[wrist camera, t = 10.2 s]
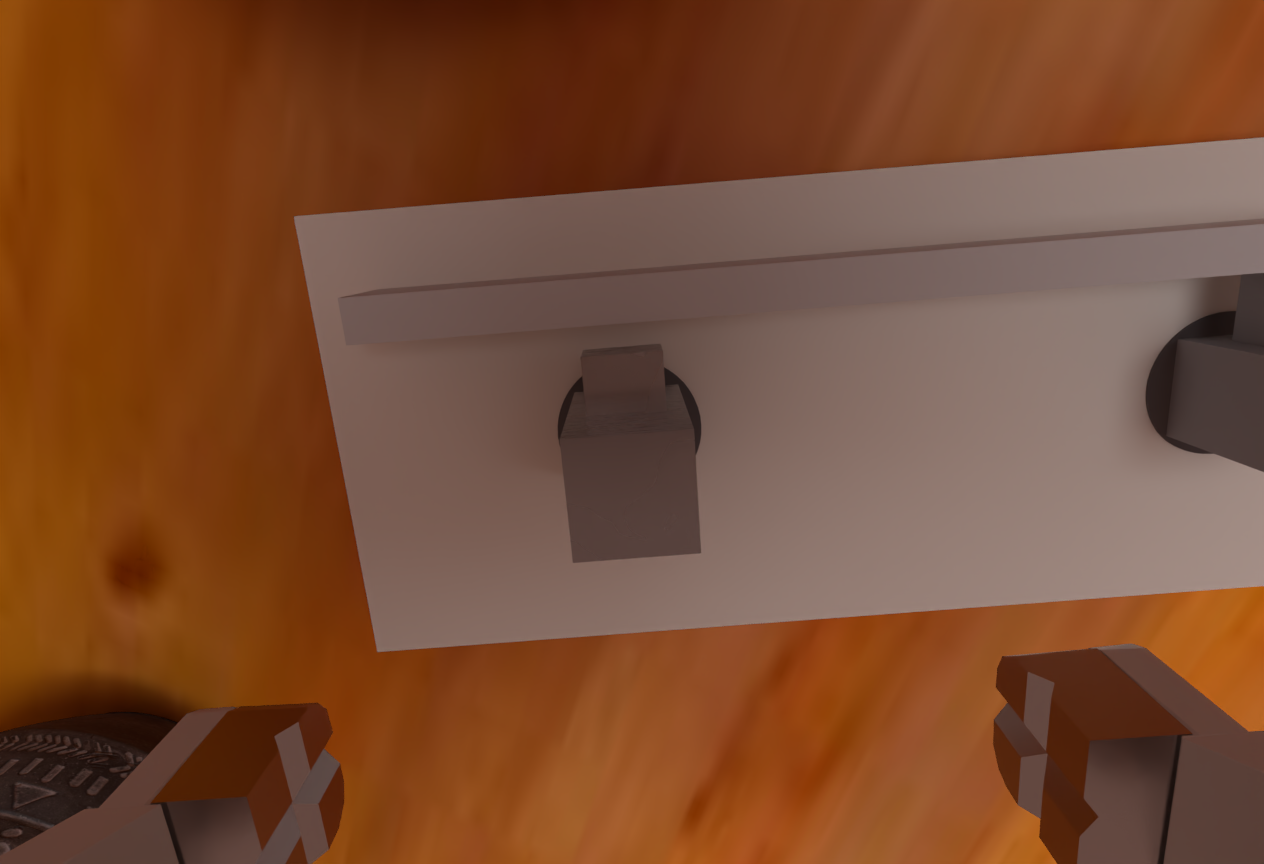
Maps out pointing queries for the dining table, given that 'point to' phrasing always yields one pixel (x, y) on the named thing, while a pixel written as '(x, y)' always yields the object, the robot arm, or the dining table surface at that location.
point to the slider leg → (629, 460)
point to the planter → (68, 768)
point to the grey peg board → (811, 390)
